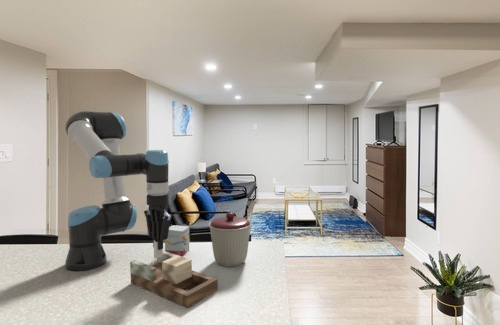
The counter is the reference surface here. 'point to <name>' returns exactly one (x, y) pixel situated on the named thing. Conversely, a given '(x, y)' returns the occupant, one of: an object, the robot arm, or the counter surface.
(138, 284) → the wooden compartment tray
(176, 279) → the birch block
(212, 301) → the counter surface
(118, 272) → the counter surface
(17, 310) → the counter surface
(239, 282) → the counter surface
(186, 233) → the ink box
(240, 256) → the canister
